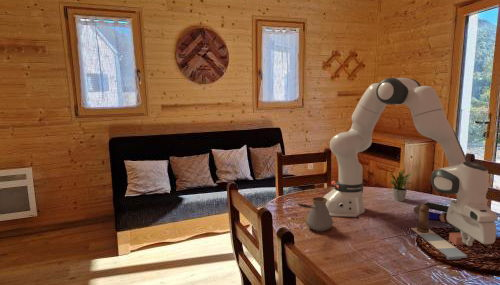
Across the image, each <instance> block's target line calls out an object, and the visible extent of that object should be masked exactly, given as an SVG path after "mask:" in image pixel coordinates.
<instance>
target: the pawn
mask: <svg viewBox="0 0 500 285" xmlns="http://www.w3.org/2000/svg"><path fill="white" fill-rule="evenodd" d="M429 212H430V209H429V207H428V206H427V205H421V206H420V210H419V214H418V224H417V226H416V228H417V231H418V232H421V233H428V232H429V229H430V228H429V222H430V221H429V219H430V218H429Z"/></svg>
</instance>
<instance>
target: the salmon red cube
mask: <svg viewBox="0 0 500 285" xmlns="http://www.w3.org/2000/svg"><path fill="white" fill-rule="evenodd" d="M448 241H449V242H451V243H452V244H454V245H456V246H463V245H466V244H465V243H463V242H462V236H461V233H460V232H459V231H458V232H449V236H448Z"/></svg>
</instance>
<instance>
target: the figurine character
mask: <svg viewBox="0 0 500 285" xmlns="http://www.w3.org/2000/svg"><path fill="white" fill-rule="evenodd" d="M421 205H427V206H428V207H429V210H432V211H433V210H434V211H439V212H442V213H438V212H434V211H433V212H432V211H429V219H430V220H437V221H440V222H442V223H444V224H450V223H449V222H447V219H446V217H447V211H448V207H449V206H450V205H443V204H440V203H434V202H425V203H420V204H418V205H417V206H415V207H414V208H413V212H414V214H417V215H419V210H420V206H421Z"/></svg>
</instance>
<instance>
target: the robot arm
mask: <svg viewBox="0 0 500 285" xmlns="http://www.w3.org/2000/svg"><path fill="white" fill-rule="evenodd" d="M388 105H395V106H400V105H401V106H403V105H406V106H407V107H408V109H409V110H410V114H411V118H412V121H413V125H414V128H415V129H416V131H417V132H418V133H419V134H420V135H421V136H423V137H426V138H427V139H428V138H429V139H432V140H433V141H435V142H436V143H437V144H439V145H440V146H441V148H442V151H443V154H444V156H445V158H446V160H447V163H448V166H445V167H441V168H438V169H435V170H434V171H433V172H432V173H431V175H430V185H431V186H432V188H433V189H434V190H435V191H436V192H438V193H439V194H444V195H455V196H456V199H453V200H451V201H450V203H449V205H448V206H449V207H448V211H447V212H446V213H447V217H446V219H447V222H449V223H448V224H451V225H452V226H453V227H454V226H455V227H457V228H458V229H460V230H461V231H460V233H461V236H462V242H463V243H465V245H466V246H468V247H472V246H473V242H474V241H475V240H476V241H478V242H479V243H481V244H483V245H493V244H494V243H495V242H496V240H497V239H496V238H497V224H496V222H497V221H498V215H497V214H496V213H495V212H494V211H493V210H492V209H491V208H490V207H489V206H488V205H487V203H488V202H487V201H488V200H487V193H488V191H489V172H488V168H487V167H486V166H485V165H483V164H481V163H478V162H475V161H469V160H468V158H467V156H466V155H465V152H464V150H463V148H462V145H461V143H460V140H459V139H458V138H459V137H458V136H457V134H456V132H455V130H454V129H453V127H452V126H451V125H450V122H449V121H448V118H447V116H446V113H445V110H444V106H443V104H442V101H441V99H440V97H439V95H438V93H437V91H436V90H435V88H434V87H432V86H430V85H421V84H420V82H419V81H418V80H416V79H413V78H407V77H388V78H385V79H382V80H381V81H380V82H376V83H371V84H370V85H369V86H368V88H367V89H366V90H365V91H364V93H363V94H362V95H361V98H360V99H359V100H358V103H357V104H356V107H355V109H354V111H353V112H352V115H351V121H352V124H351V127H350V128H349V130H347V131H343V132H339V133H337V134H335V135H334V136H333V137H332V138H331V139H330V141H329V149H330V151H331V153H332V154H333V155H334V156H335V157H336V158H335V159H336V161H337V168H338V180H337V181H335V180H332V181H331V185H332V186H334V188H333V189H332V190H331V191H329V192H327V193H326V194H324V196H323V198H326V199H327V202H326V207H327V209H328V211H329V214H330V216H331V217H349V218H350V217H353V218H354V217H357V218H358V217H359V216H360V215H361V214H364V213H365V212H366V209H365V206H364V201H363V193H364V182H363V172H364V171H363V165H362V164H361V163H360V162H359V158H358V153H362V152H364V151H366V150H368V148H370V147H371V145H372V142H373V137H372V135H373V132H374V128H375V126H376V124H377V123H378V121H379V119H380V117H381V115H382V113H383V112H384V110H385V108H386V106H388Z"/></svg>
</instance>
